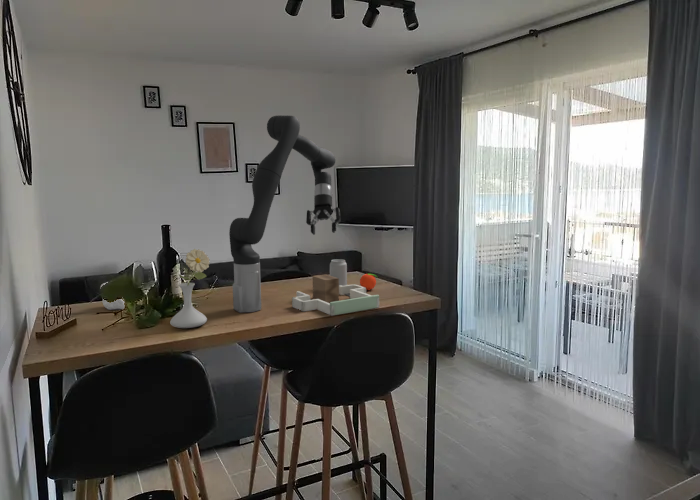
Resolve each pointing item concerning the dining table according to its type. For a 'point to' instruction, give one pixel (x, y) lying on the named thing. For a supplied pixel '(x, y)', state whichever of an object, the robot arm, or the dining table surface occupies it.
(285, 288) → the dining table surface
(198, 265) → the flower in vase
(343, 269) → the can
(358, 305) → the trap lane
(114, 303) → the duck figurine
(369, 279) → the clementine
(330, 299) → the brown rectangular block
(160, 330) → the dining table surface
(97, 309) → the dining table surface
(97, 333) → the dining table surface
